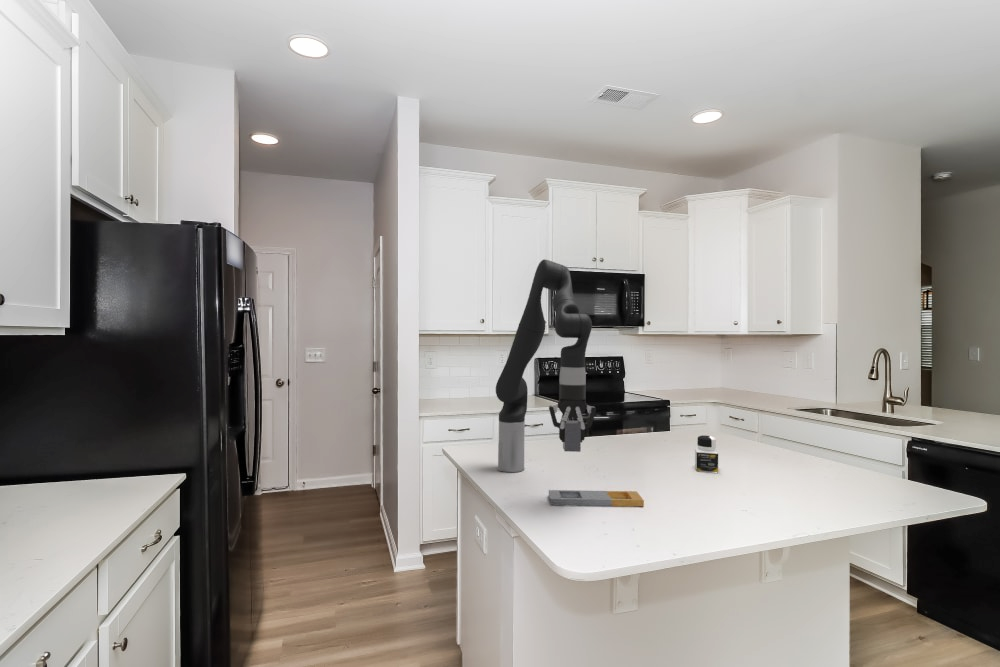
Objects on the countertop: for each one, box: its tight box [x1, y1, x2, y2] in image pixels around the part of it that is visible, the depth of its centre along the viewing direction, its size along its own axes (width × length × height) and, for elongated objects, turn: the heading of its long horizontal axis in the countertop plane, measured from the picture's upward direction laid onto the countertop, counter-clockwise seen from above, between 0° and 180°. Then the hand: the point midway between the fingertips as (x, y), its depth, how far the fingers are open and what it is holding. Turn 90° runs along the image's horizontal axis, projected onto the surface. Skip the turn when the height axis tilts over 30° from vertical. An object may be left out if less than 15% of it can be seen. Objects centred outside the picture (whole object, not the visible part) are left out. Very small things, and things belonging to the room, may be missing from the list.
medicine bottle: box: [694, 434, 719, 474], centre depth 180 cm, size 7×7×12 cm
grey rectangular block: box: [562, 420, 582, 453], centre depth 145 cm, size 4×4×8 cm
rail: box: [548, 489, 645, 507], centre depth 145 cm, size 26×8×2 cm, turn 89°
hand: (571, 441), depth 145 cm, fingers closed on grey rectangular block, 4 cm apart
